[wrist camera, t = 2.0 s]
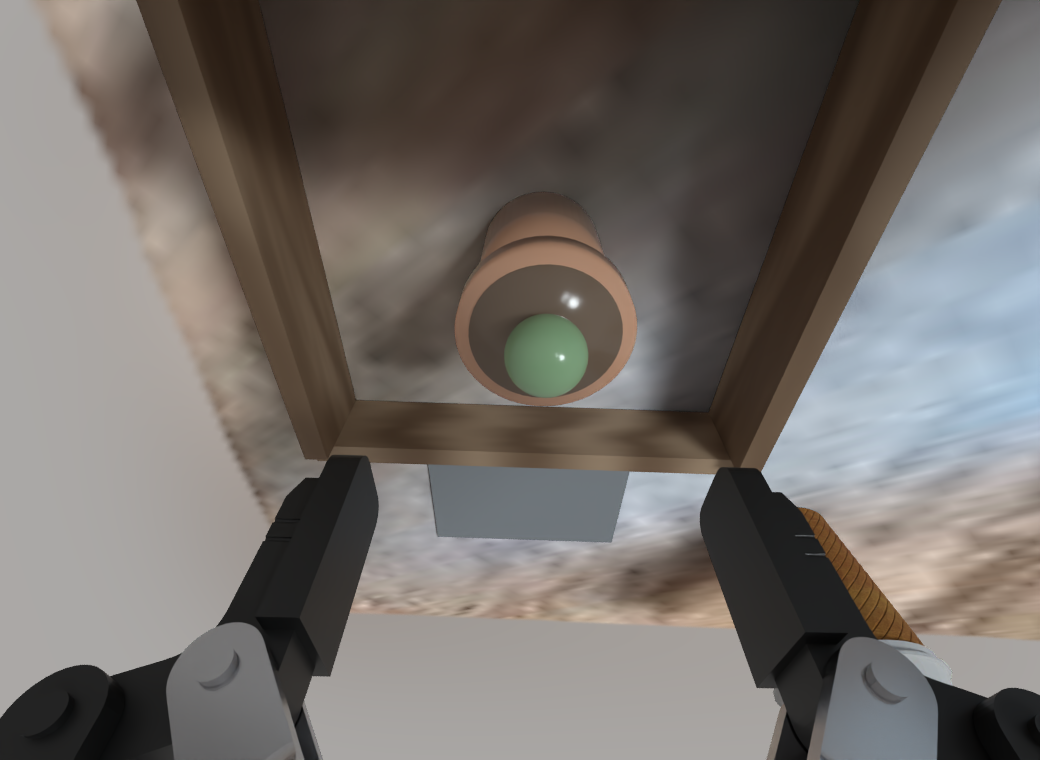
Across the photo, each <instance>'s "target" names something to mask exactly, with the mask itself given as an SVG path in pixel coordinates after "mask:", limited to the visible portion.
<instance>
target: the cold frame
mask: <svg viewBox="0 0 1040 760" xmlns="http://www.w3.org/2000/svg"><path fill="white" fill-rule="evenodd" d="M136 1H137V4H138V6H139V9H140V12H141V14H142V17H143V20H144V23H145V25H146V28H147V31H148V33H149V36H150V39H151V42H152V44H153V47H154V50H155V53H156V55H157V58H158V61H159V63H160V66H161V69H162V72H163V74H164V77H165V80H166V82H167V85H168V88H169V91H170V93H171V96H172V99H173V101H174V104H175V107H176V110H177V112H178V115H179V118H180V120H181V123H182V126H183V129H184V131H185V134H186V137H187V139H188V142H189V145H190V148H191V150H192V153H193V156H194V158H195V161H196V164H197V167H198V169H199V172H200V175H201V177H202V180H203V183H204V186H205V188H206V191H207V194H208V197H209V199H210V202H211V205H212V207H213V210H214V213H215V216H216V218H217V221H218V224H219V226H220V229H221V232H222V235H223V237H224V240H225V243H226V245H227V248H228V251H229V254H230V256H231V259H232V262H233V264H234V267H235V270H236V273H237V275H238V278H239V281H240V283H241V286H242V289H243V292H244V294H245V297H246V300H247V302H248V305H249V308H250V311H251V313H252V316H253V319H254V321H255V324H256V327H257V330H258V332H259V335H260V338H261V341H262V343H263V346H264V349H265V351H266V354H267V357H268V360H269V362H270V365H271V368H272V370H273V373H274V376H275V379H276V381H277V384H278V387H279V389H280V392H281V395H282V398H283V400H284V403H285V406H286V408H287V411H288V414H289V417H290V419H291V422H292V425H293V427H294V430H295V433H296V436H297V438H298V441H299V444H300V446H301V449H302V452H303V455H304V457H305V459H317V461H327V460H328V459H329V457H330V456H331V455H366V456H367V457H368V458H369V461H370V462H372V463H401V464H430V465H459V466H488V467H517V468H546V469H575V470H604V471H633V472H662V473H691V474H716V473H717V471H718V469H719V468H721V467H739V468H756V469H758V470H759V471H760V472H761V471H762V469H763V467H764V465H765V463H766V461H767V459H768V457H769V455H770V453H771V451H772V449H773V447H774V445H775V443H776V442H777V440H778V438H779V436H780V434H781V432H782V430H783V428H784V426H785V424H786V422H787V420H788V418H789V416H790V414H791V412H792V410H793V408H794V406H795V404H796V402H797V400H798V398H799V396H800V395H801V393H802V391H803V389H804V387H805V385H806V383H807V381H808V379H809V377H810V375H811V373H812V371H813V369H814V367H815V365H816V363H817V361H818V359H819V357H820V355H821V353H822V351H823V349H824V348H825V346H826V344H827V342H828V340H829V338H830V336H831V334H832V332H833V330H834V328H835V326H836V324H837V322H838V320H839V318H840V316H841V314H842V312H843V310H844V308H845V306H846V304H847V302H848V301H849V299H850V297H851V295H852V293H853V291H854V289H855V287H856V285H857V283H858V281H859V279H860V277H861V275H862V273H863V271H864V269H865V267H866V265H867V263H868V261H869V259H870V257H871V256H872V254H873V252H874V250H875V248H876V246H877V244H878V242H879V240H880V238H881V236H882V234H883V232H884V230H885V228H886V226H887V224H888V222H889V220H890V218H891V216H892V214H893V212H894V210H895V209H896V207H897V205H898V203H899V201H900V199H901V197H902V195H903V193H904V191H905V189H906V187H907V185H908V183H909V181H910V179H911V177H912V175H913V173H914V171H915V169H916V167H917V165H918V163H919V162H920V160H921V158H922V156H923V154H924V152H925V150H926V148H927V146H928V144H929V142H930V140H931V138H932V136H933V134H934V132H935V130H936V128H937V126H938V124H939V122H940V120H941V118H942V116H943V115H944V113H945V111H946V109H947V107H948V105H949V103H950V101H951V99H952V97H953V95H954V93H955V91H956V89H957V87H958V85H959V83H960V81H961V79H962V77H963V75H964V73H965V71H966V69H967V68H968V66H969V64H970V62H971V60H972V58H973V56H974V54H975V52H976V50H977V48H978V46H979V44H980V42H981V40H982V38H983V36H984V34H985V32H986V30H987V28H988V26H989V24H990V23H991V21H992V19H993V17H994V15H995V13H996V11H997V9H998V7H999V5H1000V3H1001V1H1002V0H859V3H858V6H857V8H856V11H855V14H854V17H853V19H852V22H851V25H850V28H849V30H848V33H847V36H846V39H845V41H844V44H843V47H842V49H841V52H840V55H839V58H838V60H837V63H836V66H835V69H834V71H833V74H832V77H831V79H830V82H829V85H828V88H827V90H826V93H825V96H824V99H823V101H822V104H821V107H820V110H819V112H818V115H817V118H816V120H815V123H814V126H813V129H812V131H811V134H810V137H809V140H808V142H807V145H806V148H805V150H804V153H803V156H802V159H801V161H800V164H799V167H798V170H797V172H796V175H795V178H794V180H793V183H792V186H791V189H790V191H789V194H788V197H787V200H786V202H785V205H784V208H783V211H782V213H781V216H780V219H779V221H778V224H777V227H776V230H775V232H774V235H773V238H772V241H771V243H770V246H769V249H768V251H767V254H766V257H765V260H764V262H763V265H762V268H761V271H760V273H759V276H758V279H757V282H756V284H755V287H754V290H753V292H752V295H751V298H750V301H749V303H748V306H747V309H746V312H745V314H744V317H743V320H742V322H741V325H740V328H739V331H738V333H737V336H736V339H735V342H734V344H733V347H732V350H731V353H730V355H729V358H728V361H727V363H726V366H725V369H724V372H723V374H722V377H721V380H720V383H719V385H718V388H717V391H716V393H715V396H714V399H713V402H712V404H711V407H710V410H709V412H680V411H652V410H623V409H594V408H565V407H536V406H507V405H478V404H449V403H420V402H391V401H362V400H356V398H355V394H354V390H353V386H352V382H351V378H350V374H349V370H348V366H347V361H346V357H345V353H344V349H343V345H342V341H341V337H340V333H339V329H338V325H337V320H336V316H335V312H334V308H333V304H332V300H331V296H330V292H329V288H328V284H327V280H326V275H325V271H324V267H323V263H322V259H321V255H320V251H319V247H318V243H317V239H316V234H315V230H314V226H313V222H312V218H311V214H310V210H309V206H308V202H307V198H306V194H305V189H304V185H303V181H302V177H301V173H300V169H299V165H298V161H297V157H296V153H295V148H294V144H293V140H292V136H291V132H290V128H289V124H288V120H287V116H286V112H285V107H284V103H283V99H282V95H281V91H280V87H279V83H278V79H277V75H276V71H275V67H274V62H273V58H272V54H271V50H270V46H269V42H268V38H267V34H266V30H265V26H264V21H263V17H262V13H261V9H260V5H259V1H258V0H136Z"/></svg>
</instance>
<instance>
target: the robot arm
mask: <svg viewBox="0 0 1040 760" xmlns="http://www.w3.org/2000/svg"><path fill="white" fill-rule="evenodd" d="M378 507H379V504H378V495H377V491H376V487H375V483H374V478H373V474H372V470H371V466H370V461H369V458H368V457H367V456H366V455H331V456H330V457H329V459H328V460H327V462H326V464H325V467H324V469H323V471H322V473H321V475H320V477H319V478H305V479H304V480H303V481H302V482H301V483H300V484H299V485H298V486H296V487H295V488H294V489H293V490H292V491H291V492H290V493H289V494H288V495H287V496H286V498H285V500H284V502H283V504H282V506H281V508H280V510H279V512H278V513H277V515H276V517H275V522H274V523H272V525H271V527H270V529H269V531H268V533H267V535H266V540H265V541H263V542H262V545H261V546H260V548H259V550H258V552H257V554H256V556H255V558H254V560H253V562H252V564H251V566H250V568H249V570H248V571H247V573H246V575H245V577H244V579H243V581H242V583H241V585H240V587H239V589H238V591H237V593H236V595H235V597H234V599H233V600H232V602H231V604H230V607H229V608H228V610H227V612H226V614H225V615H224V617H223V618H222V620H221V621H220V622H219V624H218V625H217V626H216V627H215V628H213V629H211V630H209V631H208V632H206V633H204V634H203V635H201V636H200V637H198V638H197V639H196V640H195V641H193V642H192V643H191V644H190V645H189V646H188V647H187V648H186V649H185V651H184V652H183V653H181V654H179V655H177V656H174V657H172V658H169V659H166V660H163V661H160V662H156V663H153V664H150V665H146V666H143V667H139V668H136V669H133V670H129V671H126V672H123V673H120V674H116V675H113V676H109V675H107V674H106V673H105V672H104V671H103V670H101V669H99V668H98V667H95V666H92V665H78V666H73V667H69V668H65V669H63V670H61V671H58V672H55V673H53V674H52V675H50V676H48V677H46V678H44V679H43V680H41V681H40V682H38V683H37V684H35V685H34V686H32V687H31V688H30V689H28V690H27V691H26V692H25V693H23V694H22V695H21V696H20V697H19V698H18V699H17V700H16V701H15V702H14V703H13V704H12V705H11V706H10V707H9V708H8V709H7V710H6V712H5V713H4V714H3V716H2V717H1V718H0V760H323V758H322V755H321V752H320V749H319V746H318V743H317V739H316V737H315V733H314V730H313V727H312V725H311V721H310V718H309V715H308V712H307V709H306V705H305V703H304V698H305V696H306V693H307V690H308V687H309V684H310V681H311V678H312V676H330V675H331V672H332V668H333V665H334V661H335V658H336V655H337V652H338V648H339V645H340V642H341V638H342V635H343V632H344V629H345V625H346V622H347V619H348V616H349V612H350V609H351V606H352V602H353V599H354V596H355V593H356V589H357V586H358V583H359V579H360V576H361V573H362V569H363V566H364V563H365V560H366V556H367V553H368V550H369V546H370V543H371V540H372V536H373V533H374V530H375V527H376V523H377V518H378ZM700 527H701V532H702V536H703V539H704V542H705V544H706V547H707V550H708V553H709V556H710V558H711V561H712V564H713V567H714V569H715V572H716V575H717V578H718V581H719V583H720V586H721V589H722V592H723V595H724V597H725V600H726V603H727V606H728V609H729V611H730V614H731V617H732V620H733V623H734V625H735V628H736V631H737V634H738V636H739V639H740V642H741V645H742V648H743V651H744V653H745V656H746V659H747V662H748V664H749V667H750V670H751V673H752V676H753V678H754V681H755V684H756V687H757V688H778V690H779V692H780V695H781V697H782V700H783V702H784V704H783V705H782V706H781V708H780V711H779V714H778V718H777V722H776V726H775V730H774V734H773V737H772V741H771V745H770V748H769V753H768V756H767V760H1040V695H1038V694H1036V693H1033V692H1031V691H1027V690H1024V689H1019V688H1007V689H1003V690H1001V691H1000V692H998V693H996V694H994V695H993V696H991V697H989V698H986V697H983V696H981V695H977V694H975V693H972V692H969V691H966V690H963V689H960V688H957V687H954V686H952V685H949V684H946V683H943V682H940V681H937V680H934V679H932V678H929V677H927V676H924V675H923V674H922V673H921V671H920V670H919V669H918V668H917V667H916V666H915V665H914V664H913V663H912V662H911V661H910V660H909V659H908V658H907V657H905V656H904V655H903V654H902V653H900V652H899V651H898V650H896V649H894V648H893V647H891V646H889V645H887V644H885V643H883V642H881V641H879V640H878V639H877V638H876V637H875V635H874V634H873V632H872V631H871V629H870V628H869V626H868V624H867V623H866V621H865V619H864V618H863V616H862V614H861V612H860V611H859V609H858V607H857V606H856V604H855V602H854V600H853V599H852V597H851V595H850V594H849V592H848V590H847V588H846V587H845V585H844V583H843V582H842V580H841V578H840V576H839V575H838V573H837V571H836V570H835V568H834V566H833V564H832V563H831V561H830V559H829V558H827V557H826V556H825V551H824V549H823V547H822V546H821V544H820V542H819V541H818V539H815V534H814V532H813V530H812V529H811V527H810V525H809V523H808V522H807V520H806V518H805V517H804V515H803V513H802V512H801V511H800V510H799V509H798V508H797V507H796V506H795V505H794V504H793V503H792V502H791V501H790V500H789V499H788V498H787V497H786V496H785V495H783V494H782V493H781V492H772V491H771V490H770V488H769V486H768V484H767V482H766V480H765V479H764V477H763V475H762V473H761V472H760V471H759V470H758V469H756V468H739V467H721V468H719V469H718V471H717V473H716V475H715V477H714V479H713V482H712V484H711V486H710V489H709V491H708V493H707V496H706V498H705V500H704V503H703V505H702V508H701V512H700Z"/></svg>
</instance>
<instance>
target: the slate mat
mask: <svg viewBox="0 0 1040 760" xmlns="http://www.w3.org/2000/svg"><path fill="white" fill-rule="evenodd" d="M428 468H429V475H430V482H431V490H432V497H433V504H434V512H435V519H436V526H437V534H438V537H465V538H494V539H523V540H552V541H581V542H612V538H613V534H614V530H615V526H616V523H617V519H618V515H619V511H620V507H621V503H622V499H623V495H624V491H625V487H626V483H627V479H628V475H629V471H604V470H575V469H546V468H517V467H488V466H459V465H430V464H428Z"/></svg>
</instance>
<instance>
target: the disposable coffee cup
mask: <svg viewBox="0 0 1040 760" xmlns="http://www.w3.org/2000/svg"><path fill="white" fill-rule="evenodd" d="M798 509H799V510H800V511H801V512H802V513H803V515H804V517H805V518H806V520H807V522H808V523H809V525H810V527H811V529H812V530H813V532H814V534H815V539H818V541H819V542H820V544H821V546H822V547H823V549H824V551H825V556H826V557H827V558H829V559H830V561H831V563H832V564H833V566H834V568H835V570H836V571H837V573H838V575H839V576H840V578H841V580H842V582H843V583H844V585H845V587H846V588H847V590H848V592H849V594H850V595H851V597H852V599H853V600H854V602H855V604H856V606H857V607H858V609H859V611H860V612H861V614H862V616H863V618H864V619H865V621H866V623H867V624H868V626H869V628H870V629H871V631H872V632H873V634H874V635H875V637H876V638H877V639H878V640H879V641H881V642H883V643H885V644H887V645H889V646H891V647H893V648H894V649H896V650H898V651H899V652H900V653H902V654H903V655H904V656H905V657H907V658H908V659H909V660H910V661H911V662H912V663H913V664H914V665H915V666H916V667H917V668H918V669H919V670H920V671H921V673H922V674H923V675H924V676H927V677H929V678H932V679H934V680H937V681H940V682H943V683H946V684H949V685H952V683H951V679H952V671H951V669H950V667H949V666H948V665H947V664H946V663H945V662H944V661H943V659H940V658H938V657H937V656H936V655H935V654H934V652H933V651H932V650H930V649H929V648H927V647H925V646H924V645H923V644H922V642H921V641H920V640H919V638H918V637H917V636H916V634H915V633H914V632H913V631H912V629H911V628H910V627H909V626H908V624H907V623H906V622H905V621H904V619H903V618H902V617H901V615H900V614H899V613H898V612H897V611H896V609H895V608H894V607H893V605H892V604H891V603H890V602H889V601H888V599H887V598H886V597H885V595H884V594H883V593H882V592H881V590H880V589H879V588H878V586H877V585H876V584H875V583H874V582H873V580H872V579H871V578H870V576H869V575H868V573H867V572H865V571H864V569H863V568H862V566H861V565H860V564H859V563H858V561H857V560H856V559H855V557H854V556H853V555H852V554H851V552H850V551H849V550H848V549H847V548H846V546H845V545H844V543H843V542H842V541H841V540H840V539H839V537H838V536H837V535H836V534H835V532H834V531H833V530H832V529H831V527H830V526H829V525H828V523H827V522H826V521H825V520H824V518H823V517H822V516H821V515H820V514H819V513H817V512H815V511H813V510H810V509H806V508H798ZM952 686H953V685H952ZM773 692H774V697H775V701H776V702H777V704H778V705H779V706H782V705H783V704H784V702H783V700H782V697H781V695H780V692H779V690H778V688H774V691H773Z"/></svg>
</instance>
